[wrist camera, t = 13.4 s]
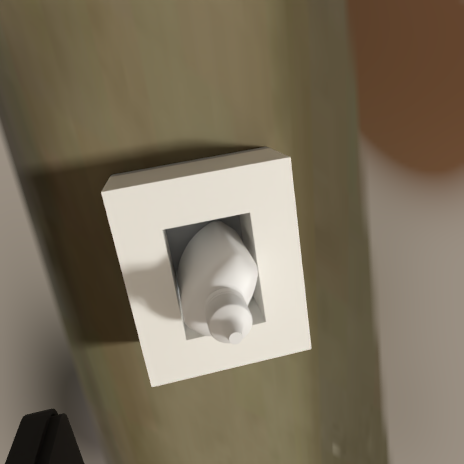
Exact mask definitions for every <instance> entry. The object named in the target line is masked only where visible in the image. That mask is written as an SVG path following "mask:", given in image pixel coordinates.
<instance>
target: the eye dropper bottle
mask: <svg viewBox="0 0 464 464" xmlns="http://www.w3.org/2000/svg"><path fill="white" fill-rule="evenodd" d="M257 276H258V270H257V265H256V264H255V262H254V260H253V258H252V256H251V255H250V253H249V251H248V250H247V248H246V246H245V245H244V243H243V241H242V240H241V238H240V237H239V235H238V233H237V232H236V231H235V230H234V229H232V228H231V227H229V226H227V225H226V224H224V223H222V222H221V221H212V222H211V223H209V224H207V225H206V226H205V227H203V228H202V229H201V230H200V231H199V232H197V233H196V234H195V236H194V237H193V238H192V239H191V240H190V242H189V243H188V245H187V246H186V248H185V250H184V252H183V254H182V256H181V259H180V262H179V265H178V270H177V280H178V287H179V294H180V301H181V307H182V313H183V318H184V322H185V324H186V325H187V326H188V327H189V328H190V329H192V330H194V331H196V332H198V333H200V334H202V335H204V336H212V337H213V338H215V339H216V340H217V341H219V342H222V343H231V344H239V343H240V342H241V341H242V339H243V338H245V337H246V335H248V333H249V332H250V330H251V327H252V323H253V322H252V321H253V320H252V315H251V313H250V310H249V308H248V304H249V302H250V300H251V298H252V295H253V293H254V290H255V286H256V282H257Z"/></svg>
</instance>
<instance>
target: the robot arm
mask: <svg viewBox="0 0 464 464" xmlns="http://www.w3.org/2000/svg"><path fill="white" fill-rule="evenodd" d="M5 464H84V462H83V459H82V456H81V453H80V450H79V448H78V445H77V443H76V439H75V437H74V434H73V431H72V428H71V425H70V423H69V420H68V418H67V415H66V414H64V413H63V414H59V415H58V413H57V411H56V410H55V409H49V410H44V411H40V412H36V413H32V414H27V415H25V416H24V417H23V418H22V420H21V422H20V425H19V428H18V430H17V433H16V436H15V439H14V441H13V444H12V447H11V449H10V452H9V454H8V457H7V460H6V462H5Z"/></svg>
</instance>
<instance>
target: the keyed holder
mask: <svg viewBox="0 0 464 464" xmlns="http://www.w3.org/2000/svg"><path fill="white" fill-rule="evenodd" d="M101 194H102V198H103V201H104V205H105V209H106V213H107V217H108V221H109V225H110V228H111V232H112V236H113V240H114V244H115V248H116V251H117V255H118V259H119V263H120V267H121V271H122V275H123V278H124V282H125V286H126V290H127V294H128V298H129V301H130V305H131V309H132V313H133V317H134V321H135V325H136V328H137V332H138V336H139V340H140V344H141V348H142V351H143V355H144V359H145V363H146V367H147V371H148V375H149V378H150V382H151V386H152V387H155V386H159V385H163V384H167V383H171V382H175V381H180V380H184V379H188V378H192V377H196V376H200V375H205V374H209V373H213V372H217V371H221V370H225V369H230V368H234V367H238V366H242V365H246V364H251V363H255V362H259V361H263V360H267V359H271V358H276V357H280V356H284V355H288V354H292V353H296V352H301V351H305V350H309V349H311V341H310V332H309V323H308V313H307V304H306V295H305V286H304V277H303V268H302V259H301V250H300V240H299V231H298V222H297V213H296V204H295V195H294V186H293V177H292V167H291V158H290V157H289V156H287V155H285V154H282V153H280V152H278V151H276V150H273V149H271V148H269V147H261V148H256V149H250V150H245V151H239V152H234V153H228V154H223V155H217V156H212V157H206V158H201V159H195V160H190V161H184V162H179V163H173V164H168V165H162V166H157V167H151V168H146V169H140V170H135V171H129V172H124V173H118V174H113V175H111V176H110V177H109V179H108V181H107V183H106V184H105V186H104V188H103V190H102V191H101ZM212 221H221V222H222V223H224V224H226V225H227V226H229V227H231V228H232V229H234V230H235V231H236V232H237V233H238V235H239V237H240V238H241V240H242V241H243V243H244V245H245V246H246V248H247V250H248V251H249V253H250V255H251V256H252V258H253V260H254V262H255V264H256V265H257V270H258V276H257V282H256V286H255V290H254V293H253V295H252V298H251V300H250V302H249V304H248V308H249V310H250V313H251V315H252V320H253V321H252V322H253V323H252V327H251V330H250V332H249V333H248V335H246V337H245V338H243V339H242V341H241V342H240V343H239V344H231V343H222V342H219V341H217V340H216V339H215V338H213V337H212V336H204V335H202V334H200V333H198V332H196V331H194V330H192V329H190V328H189V327H188V326H187V325H186V324H185V322H184V318H183V313H182V307H181V301H180V294H179V287H178V280H177V270H178V265H179V262H180V259H181V256H182V254H183V252H184V250H185V248H186V246H187V245H188V243H189V242H190V240H191V239H192V238H193V237H194V236H195V234H196V233H197V232H199V231H200V230H201V229H202V228H203V227H205V226H206V225H207V224H209V223H211V222H212Z"/></svg>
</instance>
